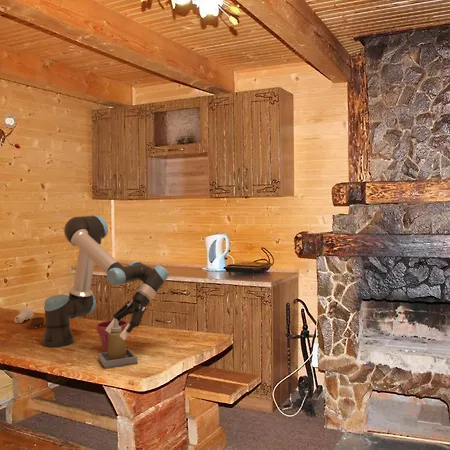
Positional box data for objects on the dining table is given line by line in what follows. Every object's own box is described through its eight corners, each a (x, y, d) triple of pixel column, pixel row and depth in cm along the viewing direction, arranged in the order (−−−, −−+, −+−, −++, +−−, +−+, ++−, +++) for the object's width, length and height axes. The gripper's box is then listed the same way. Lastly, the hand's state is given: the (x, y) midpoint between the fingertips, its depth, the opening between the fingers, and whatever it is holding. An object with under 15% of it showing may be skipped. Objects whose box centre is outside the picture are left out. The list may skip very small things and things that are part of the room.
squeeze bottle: (109, 357, 235) (107, 317, 234) (127, 356, 236) (126, 316, 235) (106, 363, 227) (105, 321, 226) (125, 362, 228) (124, 321, 227)
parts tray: (98, 359, 235) (98, 353, 235) (129, 355, 241) (129, 348, 240) (104, 368, 222) (104, 361, 222) (137, 363, 228) (137, 357, 228)
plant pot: (92, 353, 245) (90, 326, 244) (106, 345, 258) (105, 319, 258) (120, 355, 241) (119, 327, 240) (133, 346, 254) (132, 320, 254)
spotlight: (36, 317, 318) (31, 305, 316) (25, 325, 307) (21, 313, 306) (24, 319, 320) (20, 307, 318) (13, 328, 309) (9, 315, 308)
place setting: (46, 322, 313) (45, 312, 312) (66, 326, 300) (65, 316, 300) (18, 328, 299) (18, 318, 299) (38, 333, 287) (37, 323, 286)
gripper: (163, 305, 230) (134, 345, 222) (135, 297, 250) (107, 334, 242) (152, 294, 227) (122, 335, 218) (125, 287, 246) (96, 324, 238)
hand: (114, 335), depth 230 cm, fingers open, 13 cm apart
